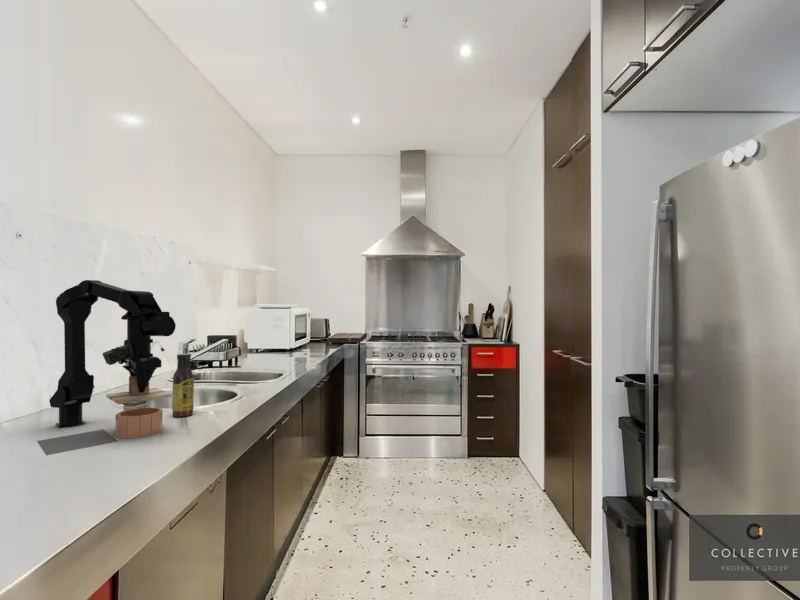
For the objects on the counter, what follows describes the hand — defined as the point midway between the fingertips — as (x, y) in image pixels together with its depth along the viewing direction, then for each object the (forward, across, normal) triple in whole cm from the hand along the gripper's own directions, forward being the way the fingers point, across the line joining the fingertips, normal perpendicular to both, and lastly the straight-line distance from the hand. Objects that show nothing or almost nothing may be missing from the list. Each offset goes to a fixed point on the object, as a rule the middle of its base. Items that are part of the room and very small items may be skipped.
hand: (139, 391), depth 126 cm
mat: (+12, -2, -14) cm, 18 cm away
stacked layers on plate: (+12, -22, +5) cm, 26 cm away
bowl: (+12, 0, 0) cm, 12 cm away
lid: (+2, 0, 0) cm, 2 cm away
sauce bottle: (+12, -12, +16) cm, 23 cm away
